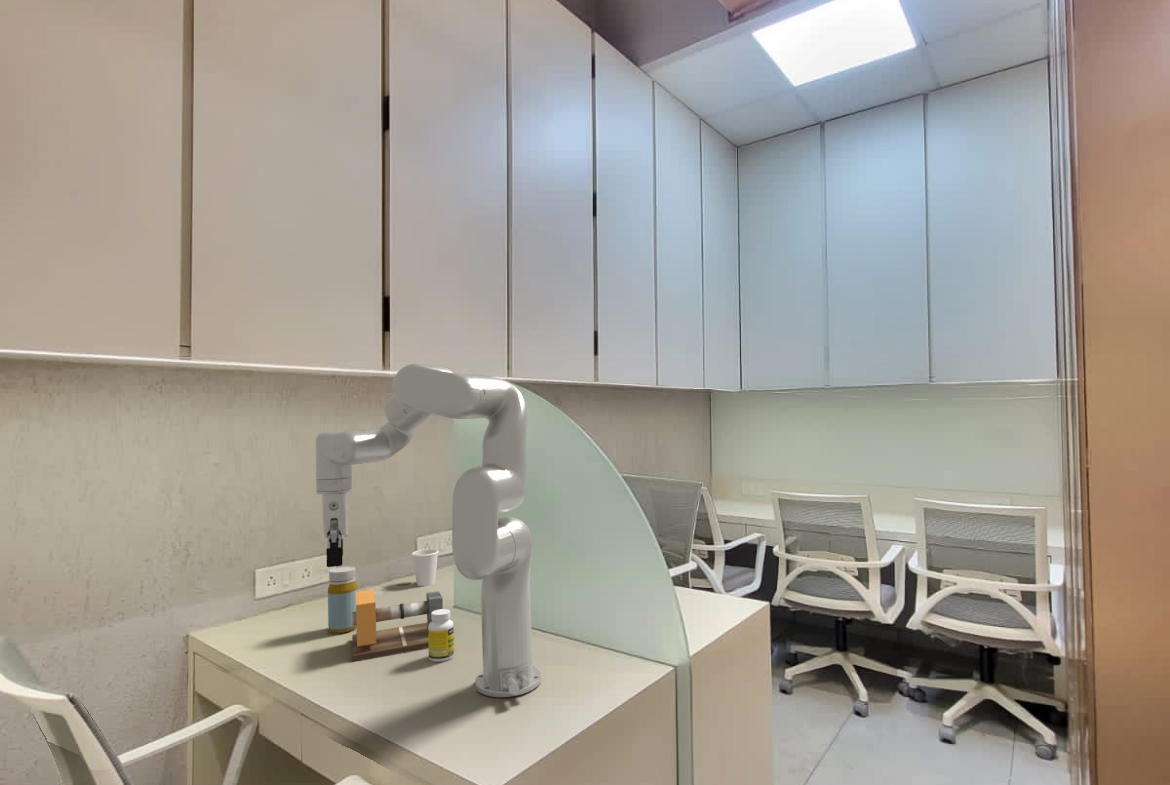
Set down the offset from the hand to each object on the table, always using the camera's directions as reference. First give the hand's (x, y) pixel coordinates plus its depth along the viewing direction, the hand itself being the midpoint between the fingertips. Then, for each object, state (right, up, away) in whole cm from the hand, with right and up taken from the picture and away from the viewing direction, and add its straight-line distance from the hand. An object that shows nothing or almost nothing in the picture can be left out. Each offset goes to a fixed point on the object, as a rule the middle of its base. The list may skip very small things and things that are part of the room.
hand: (335, 561), depth 133 cm
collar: (+7, -18, +1) cm, 19 cm away
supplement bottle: (+26, -19, -6) cm, 33 cm away
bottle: (-4, -22, +14) cm, 26 cm away
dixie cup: (+6, -23, +54) cm, 59 cm away
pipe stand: (+13, -20, +4) cm, 24 cm away
